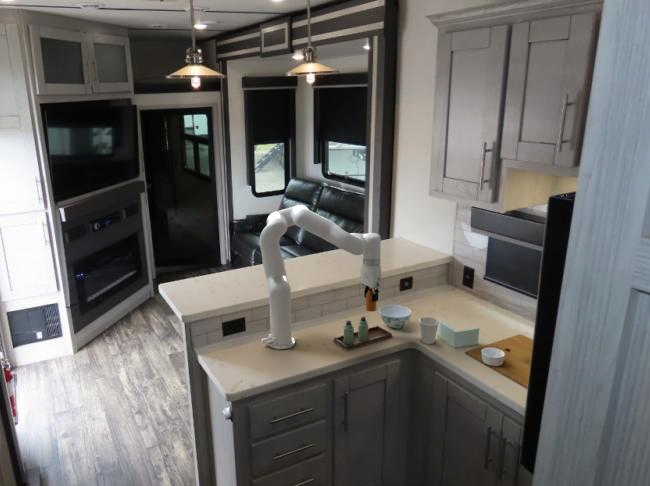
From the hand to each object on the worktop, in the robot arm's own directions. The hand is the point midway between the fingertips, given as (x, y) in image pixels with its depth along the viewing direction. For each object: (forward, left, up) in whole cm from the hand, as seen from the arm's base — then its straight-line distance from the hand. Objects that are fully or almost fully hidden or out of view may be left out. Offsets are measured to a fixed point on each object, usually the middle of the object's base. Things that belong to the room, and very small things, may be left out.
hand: (371, 298), depth 230 cm
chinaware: (+18, +4, -19) cm, 27 cm away
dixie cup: (+20, -16, -19) cm, 32 cm away
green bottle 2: (-4, 0, -19) cm, 19 cm away
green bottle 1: (-12, 0, -19) cm, 22 cm away
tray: (-4, 0, -19) cm, 20 cm away
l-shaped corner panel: (+32, -22, -19) cm, 43 cm away
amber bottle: (0, 0, -5) cm, 5 cm away
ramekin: (+29, -43, -19) cm, 55 cm away
